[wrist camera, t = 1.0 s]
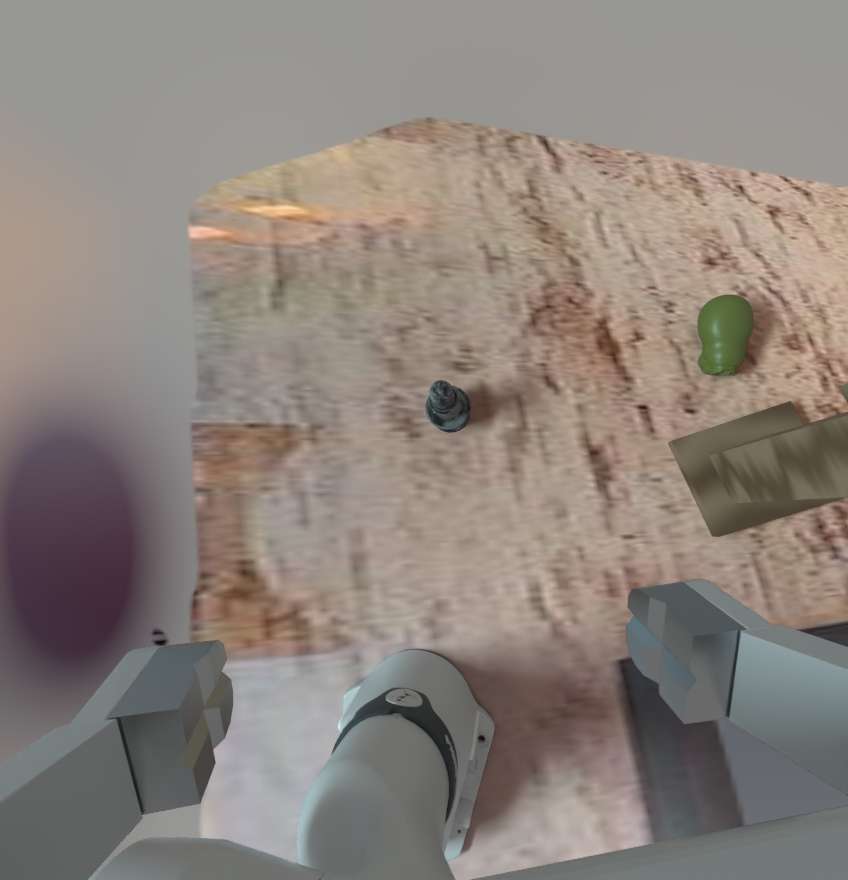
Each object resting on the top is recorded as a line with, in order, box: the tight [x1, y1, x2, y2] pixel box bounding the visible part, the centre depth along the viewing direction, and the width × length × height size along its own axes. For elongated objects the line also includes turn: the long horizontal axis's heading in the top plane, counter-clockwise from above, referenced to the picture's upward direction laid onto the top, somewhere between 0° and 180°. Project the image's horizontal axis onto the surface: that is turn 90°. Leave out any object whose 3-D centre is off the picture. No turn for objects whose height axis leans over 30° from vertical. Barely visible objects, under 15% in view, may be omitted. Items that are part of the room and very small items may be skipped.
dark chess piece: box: [426, 380, 470, 432], centre depth 52 cm, size 6×6×12 cm
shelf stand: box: [668, 384, 848, 537], centre depth 37 cm, size 17×14×26 cm
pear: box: [698, 295, 753, 376], centre depth 52 cm, size 6×5×10 cm
